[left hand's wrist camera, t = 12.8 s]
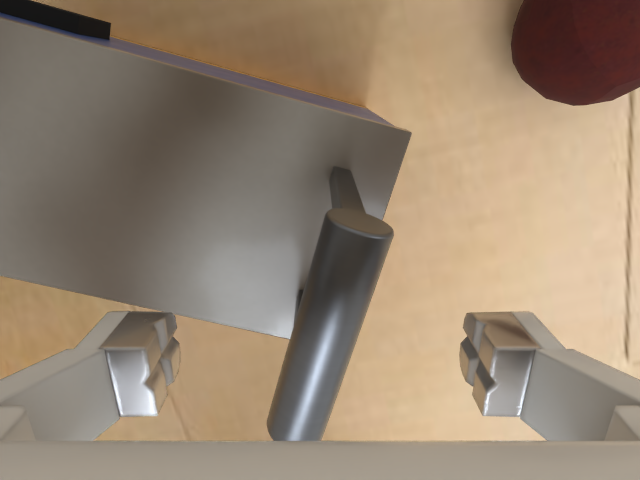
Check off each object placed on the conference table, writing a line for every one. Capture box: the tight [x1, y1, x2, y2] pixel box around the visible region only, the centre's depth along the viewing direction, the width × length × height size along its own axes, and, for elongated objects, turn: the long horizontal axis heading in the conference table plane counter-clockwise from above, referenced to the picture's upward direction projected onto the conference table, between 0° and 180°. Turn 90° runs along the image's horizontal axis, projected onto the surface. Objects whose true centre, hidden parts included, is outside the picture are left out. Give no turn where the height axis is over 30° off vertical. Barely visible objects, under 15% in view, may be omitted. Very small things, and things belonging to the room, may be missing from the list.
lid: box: [0, 17, 412, 441], centre depth 13 cm, size 18×10×8 cm, turn 75°
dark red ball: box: [511, 0, 640, 106], centre depth 21 cm, size 7×8×7 cm
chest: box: [0, 13, 394, 126], centre depth 22 cm, size 17×10×11 cm, turn 75°
